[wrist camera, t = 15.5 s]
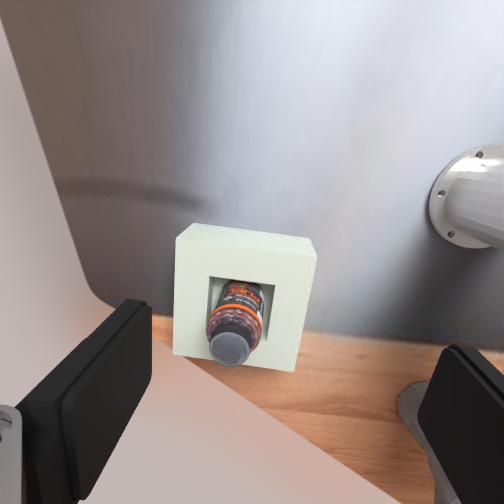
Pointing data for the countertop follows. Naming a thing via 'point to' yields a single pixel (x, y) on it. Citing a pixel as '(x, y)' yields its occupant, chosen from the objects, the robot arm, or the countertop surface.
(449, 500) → the coffeepot
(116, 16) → the countertop surface
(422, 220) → the countertop surface
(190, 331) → the sage block
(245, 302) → the supplement bottle
